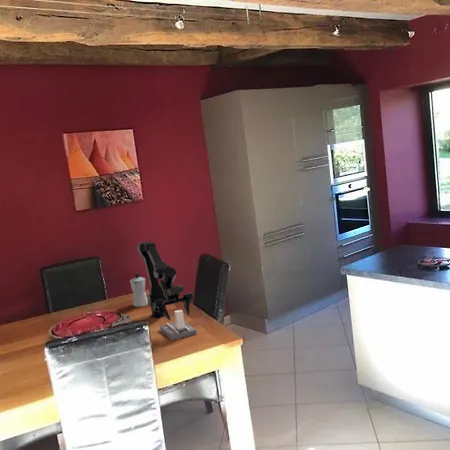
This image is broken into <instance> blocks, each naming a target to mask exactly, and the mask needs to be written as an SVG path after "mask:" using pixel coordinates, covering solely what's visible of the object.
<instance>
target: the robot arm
mask: <svg viewBox="0 0 450 450" xmlns="http://www.w3.org/2000/svg"><path fill="white" fill-rule="evenodd" d="M156 246H157V245H156V243H155V242H151V241H144V242H139V243H138V244H137V245H136V250H137V252H138V253H139V256H140V258H141V259H143V262H144V266H145V271H146V273H147V279H148V282H149V290H148V297H147V302H148V304H147V306H149V307H150V310H151V314H150V315H149V317H151V318H157V319H160V318H162V317H165V318H166V319H167V320H168V321H171V317H170V313H169V312H168V309H167V307H166V306H170V305H173V304H178V303H183V307H184V309H185V311H186V312H185V313H186V314H187V316H188V317H189V316H190V305H191V304H192V302H193V300H194V293H192V292H188V293H187V292H186V293H184V294H183V296H182V297H180V294H181V293H182V292H184V291H185V290H184V286H183V284H182V283H181V284H177V285H176V286H174V282H175V279H176V276H177V271H176V269H175V268H174V267H170V265H168V264H167V262H164V261H163V260H162V257H161V255H160V254H159V251H158V249H157V247H156Z"/></svg>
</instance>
